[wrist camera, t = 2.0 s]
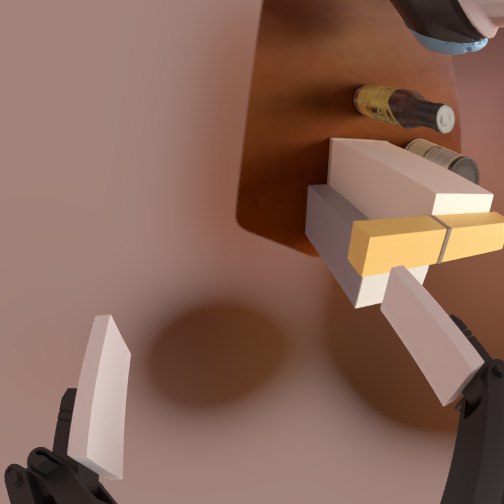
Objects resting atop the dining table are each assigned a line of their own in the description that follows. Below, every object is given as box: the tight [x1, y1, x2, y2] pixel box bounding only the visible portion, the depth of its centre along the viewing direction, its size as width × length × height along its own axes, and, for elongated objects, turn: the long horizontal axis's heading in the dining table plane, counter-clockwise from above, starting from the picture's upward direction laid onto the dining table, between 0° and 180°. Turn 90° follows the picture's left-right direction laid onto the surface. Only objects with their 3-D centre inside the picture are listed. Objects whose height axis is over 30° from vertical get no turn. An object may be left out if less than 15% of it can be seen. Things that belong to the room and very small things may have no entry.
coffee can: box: [405, 139, 479, 185], centre depth 47 cm, size 10×10×14 cm
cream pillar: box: [327, 138, 493, 220], centre depth 40 cm, size 12×9×27 cm
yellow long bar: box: [347, 212, 504, 277], centre depth 27 cm, size 24×4×3 cm, turn 91°
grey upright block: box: [305, 184, 429, 308], centre depth 46 cm, size 12×10×22 cm
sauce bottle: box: [353, 85, 455, 133], centre depth 37 cm, size 7×6×20 cm
